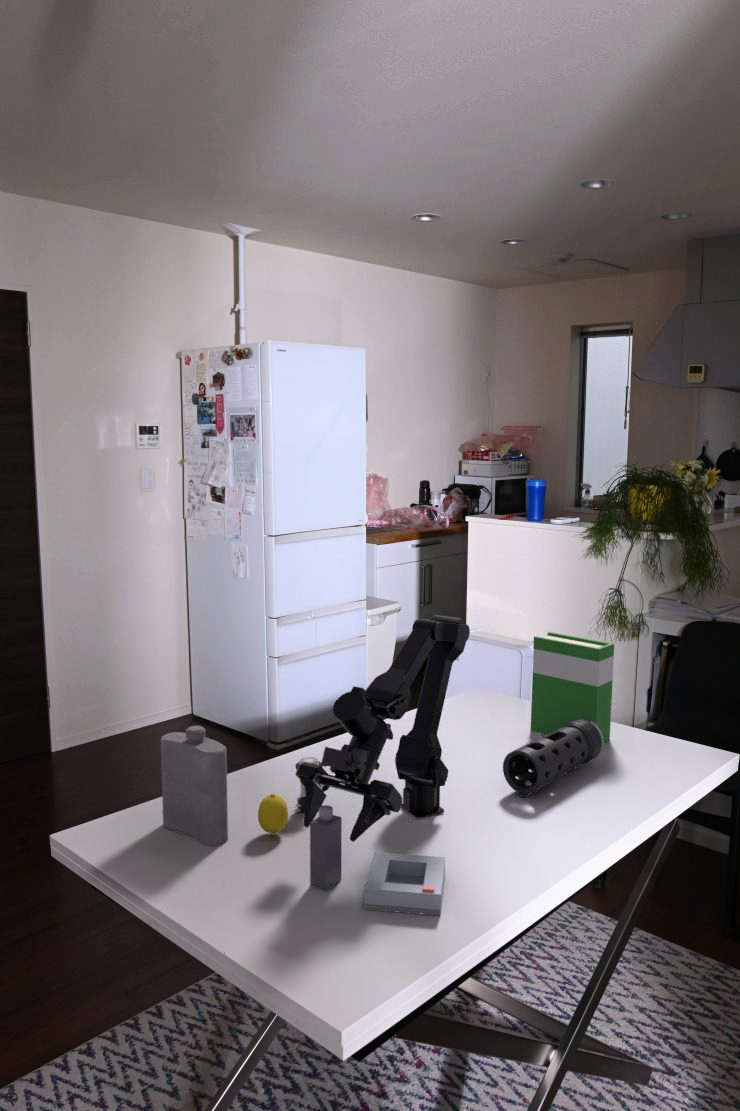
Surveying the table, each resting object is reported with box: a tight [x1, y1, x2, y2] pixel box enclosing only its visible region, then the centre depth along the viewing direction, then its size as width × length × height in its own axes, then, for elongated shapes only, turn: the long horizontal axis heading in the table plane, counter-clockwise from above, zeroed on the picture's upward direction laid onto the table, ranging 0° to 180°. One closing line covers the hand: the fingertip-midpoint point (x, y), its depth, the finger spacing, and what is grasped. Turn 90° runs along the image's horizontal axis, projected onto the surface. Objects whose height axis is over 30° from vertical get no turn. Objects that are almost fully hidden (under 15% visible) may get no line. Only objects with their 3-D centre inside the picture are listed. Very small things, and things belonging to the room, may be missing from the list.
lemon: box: [257, 793, 289, 836], centre depth 162 cm, size 6×6×8 cm
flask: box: [160, 725, 229, 847], centre depth 162 cm, size 15×6×20 cm, turn 54°
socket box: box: [363, 851, 446, 916], centre depth 142 cm, size 12×12×4 cm
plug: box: [309, 804, 343, 892], centre depth 144 cm, size 4×3×13 cm
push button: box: [291, 756, 324, 814], centre depth 172 cm, size 7×5×10 cm
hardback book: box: [530, 631, 615, 744], centre depth 214 cm, size 18×7×24 cm, turn 48°
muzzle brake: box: [502, 719, 604, 798], centre depth 189 cm, size 10×28×10 cm, turn 138°
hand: (328, 833), depth 145 cm, fingers open, 9 cm apart
